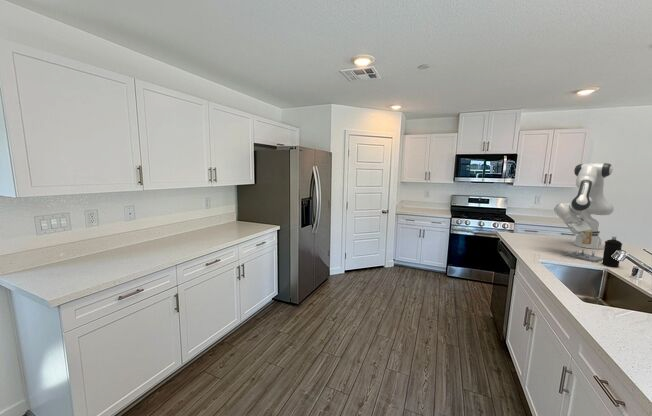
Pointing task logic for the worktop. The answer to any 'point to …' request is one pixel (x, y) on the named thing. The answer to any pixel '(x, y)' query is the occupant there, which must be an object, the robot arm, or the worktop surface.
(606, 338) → the worktop surface
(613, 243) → the aerosol can
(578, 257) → the peg base
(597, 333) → the worktop surface
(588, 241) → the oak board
